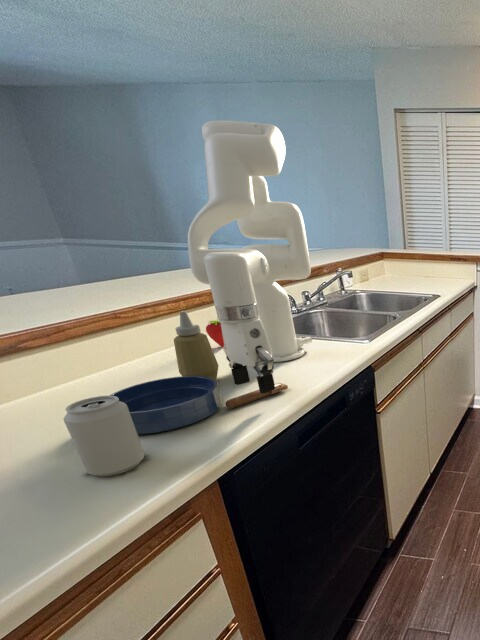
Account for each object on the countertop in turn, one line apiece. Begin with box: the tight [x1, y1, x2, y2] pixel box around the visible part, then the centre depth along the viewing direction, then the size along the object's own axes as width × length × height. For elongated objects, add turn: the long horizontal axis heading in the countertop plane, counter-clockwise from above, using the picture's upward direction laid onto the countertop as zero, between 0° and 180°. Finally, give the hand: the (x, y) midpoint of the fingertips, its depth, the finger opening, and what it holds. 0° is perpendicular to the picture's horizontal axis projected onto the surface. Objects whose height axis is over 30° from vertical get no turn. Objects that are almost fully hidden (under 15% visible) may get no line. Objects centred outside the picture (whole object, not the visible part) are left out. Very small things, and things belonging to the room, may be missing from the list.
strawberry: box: [205, 315, 225, 348], centre depth 131 cm, size 6×8×10 cm
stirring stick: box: [224, 382, 289, 409], centre depth 97 cm, size 14×3×2 cm, turn 150°
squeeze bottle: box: [173, 310, 220, 382], centre depth 102 cm, size 8×8×18 cm
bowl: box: [108, 375, 223, 435], centre depth 88 cm, size 19×19×5 cm
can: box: [62, 395, 146, 477], centre depth 69 cm, size 8×8×12 cm
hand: (255, 387), depth 96 cm, fingers open, 9 cm apart
